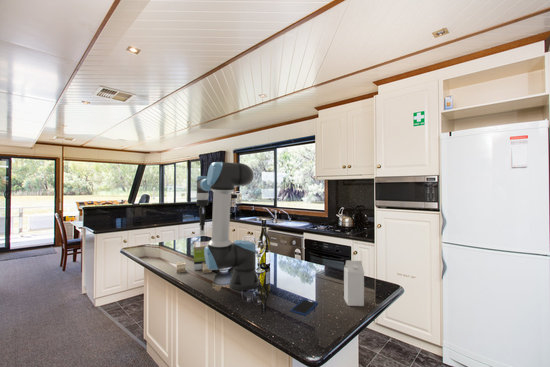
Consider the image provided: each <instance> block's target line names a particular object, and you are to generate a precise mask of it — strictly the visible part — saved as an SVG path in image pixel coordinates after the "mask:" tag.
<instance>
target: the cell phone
mask: <svg viewBox="0 0 550 367" xmlns="http://www.w3.org/2000/svg"><path fill="white" fill-rule="evenodd" d="M318 304H319V302H317V301H314V300H311V299H307V298H303V299H301V301H299V302H298V303H297V304H296V305H295V306H294V307H292V308H291V309H290V312H291V311H292V312H291V313H293V312H295V313H294V314H296V313H298V314H297V315H301V316H303V315H304V316H307V315H308V314H310V313H311V311H312V310H313V309H314V308H316V307H317V305H318Z"/></svg>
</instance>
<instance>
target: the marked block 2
mask: <svg viewBox="0 0 550 367" xmlns="http://www.w3.org/2000/svg"><path fill="white" fill-rule="evenodd" d="M201 270H202V273H203V274H206V273H212V271H213V270H210V269H208V267H207V265H206V262H204V263H203V265H202V269H201Z"/></svg>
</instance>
